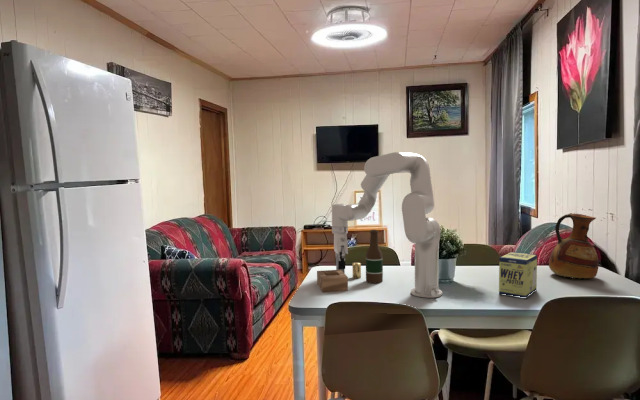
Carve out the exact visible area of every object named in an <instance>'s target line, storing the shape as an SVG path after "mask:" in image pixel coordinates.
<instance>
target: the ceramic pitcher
mask: <svg viewBox="0 0 640 400" xmlns="http://www.w3.org/2000/svg"><path fill="white" fill-rule="evenodd" d="M565 219H571V220H572V230H571V233H570V235H569V236H568V237H566V238H562V237H561V234H560V226H561V224H562V222H563V221H564V220H565ZM596 219H597V217H595V216H590V215H586V214H581V213H575V212H574V213H573V212H572V213H571V212H570V213H568V214H564V215H562V216H560V217H559V218H558V220H557V222H556V223H555V229H554V230H555V234H556V238H557V244H556V246H554V248H553V250H552V251H551V254H550V257H549V261H548V267H549V269H550V271H551V272H553V274H556V275H558V276H560V277H562V276H564V277H563V278H566V277H573V278H572V279H575V278H579V279H581V278H584V279H592V278H595V277H596V276H598V275H597V274H598V271H599V257H598V253H597V251H596V249H595V247H594V245H593V244H592V243H591V242H590V241H589V237H588V233H589V230H590V224H591V223H592V222H593V221H595V220H596Z"/></svg>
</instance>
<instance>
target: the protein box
mask: <svg viewBox="0 0 640 400" xmlns="http://www.w3.org/2000/svg"><path fill="white" fill-rule="evenodd" d="M498 263H499V264H498V265H499V267H498V269H499V270H498V272H499V273H498V274H499V275H498V295H499V294H506V295H513V296H520V297H527V296H528V295H529V294H531V293H532V292H533V291H535V290H536V291H537V287H538V286H537V284H538V283H537V276H538V274H537V273H538V254H535V253H534V254H533V253H527V252H526V253H523V252H516V251H511V252H508V253H506V254H505V255H502V256H499V262H498Z"/></svg>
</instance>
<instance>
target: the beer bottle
mask: <svg viewBox="0 0 640 400" xmlns="http://www.w3.org/2000/svg"><path fill="white" fill-rule="evenodd" d="M369 234H370V235H369V236H370V237H369V247H368V249H367V250H366V253H365V280H366V281H365V282H367V283H369V284H381V283H383V282H384V281H383V280H384V279H383V278H384V276H383V275H384V271H383V270H384V268H383V267H384V266H383V265H384V264H383V262H384V261H383V260H384V258H383V257H384V256H383V253H382V250H381V249H380V247H379V237H378V234H379V231H378V230H377V229H370V231H369Z"/></svg>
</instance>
